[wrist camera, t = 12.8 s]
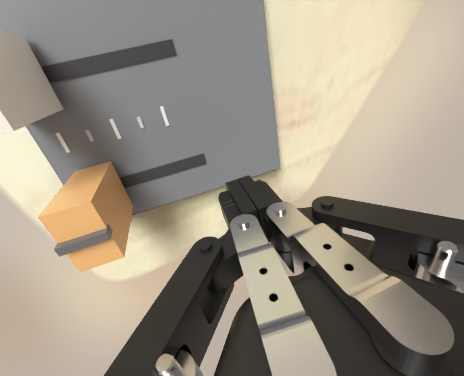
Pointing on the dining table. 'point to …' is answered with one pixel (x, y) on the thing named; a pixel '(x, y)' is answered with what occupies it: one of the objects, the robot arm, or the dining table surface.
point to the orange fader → (90, 217)
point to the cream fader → (22, 85)
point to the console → (153, 91)
